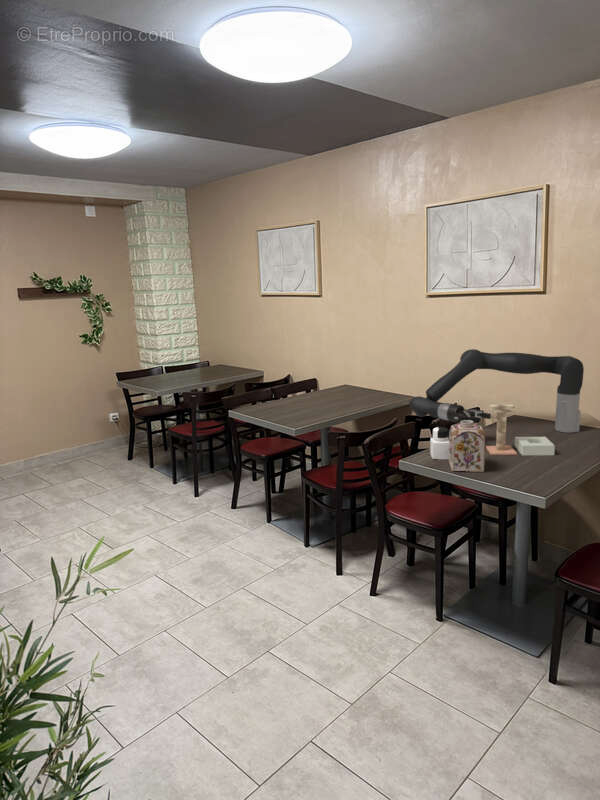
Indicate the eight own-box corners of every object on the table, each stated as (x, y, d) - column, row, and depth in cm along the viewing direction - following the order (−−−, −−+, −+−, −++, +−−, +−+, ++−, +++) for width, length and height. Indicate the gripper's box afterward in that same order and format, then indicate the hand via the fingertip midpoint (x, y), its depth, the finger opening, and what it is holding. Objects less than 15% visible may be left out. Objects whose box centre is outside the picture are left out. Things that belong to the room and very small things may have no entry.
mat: (510, 446, 231) (510, 445, 231) (516, 454, 221) (516, 453, 221) (485, 447, 232) (485, 445, 232) (490, 454, 222) (490, 453, 222)
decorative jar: (484, 472, 204) (485, 425, 200) (451, 472, 206) (452, 425, 202) (479, 461, 215) (480, 417, 211) (448, 461, 217) (449, 417, 213)
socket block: (544, 445, 230) (545, 436, 229) (554, 455, 218) (554, 445, 218) (514, 446, 232) (515, 436, 231) (522, 455, 220) (522, 445, 219)
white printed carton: (448, 453, 226) (448, 425, 224) (450, 459, 219) (451, 430, 217) (430, 454, 227) (430, 425, 224) (432, 459, 220) (432, 430, 217)
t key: (511, 448, 227) (512, 404, 223) (512, 450, 225) (514, 406, 220) (488, 448, 229) (489, 404, 225) (489, 450, 226) (491, 406, 222)
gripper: (441, 406, 235) (476, 412, 223) (460, 401, 245) (494, 406, 233) (441, 424, 237) (475, 430, 225) (459, 417, 246) (493, 423, 234)
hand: (485, 418), depth 229 cm, fingers open, 8 cm apart
